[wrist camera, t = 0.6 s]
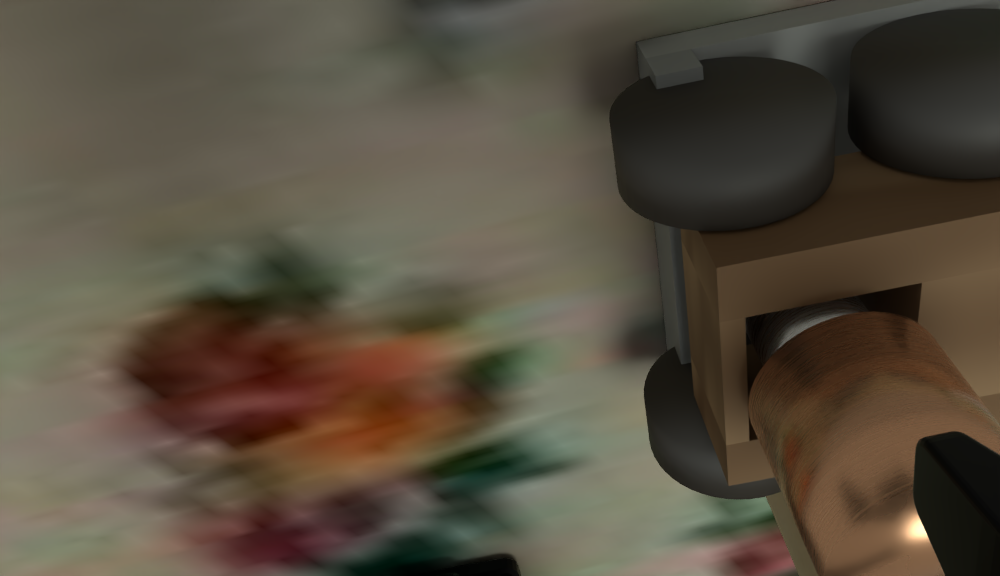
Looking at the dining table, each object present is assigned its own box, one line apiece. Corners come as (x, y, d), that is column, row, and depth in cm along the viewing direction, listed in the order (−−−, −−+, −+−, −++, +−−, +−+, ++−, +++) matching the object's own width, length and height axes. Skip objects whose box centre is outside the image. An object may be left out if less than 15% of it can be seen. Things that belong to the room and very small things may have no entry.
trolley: (969, 326, 25) (1085, 468, 21) (634, 392, 26) (680, 544, 21) (1020, -7, 20) (1190, 91, 15) (592, 82, 20) (643, 203, 16)
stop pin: (839, 297, 23) (1041, 604, 16) (689, 326, 23) (820, 644, 16) (845, 166, 21) (1083, 451, 13) (679, 199, 21) (827, 499, 14)
